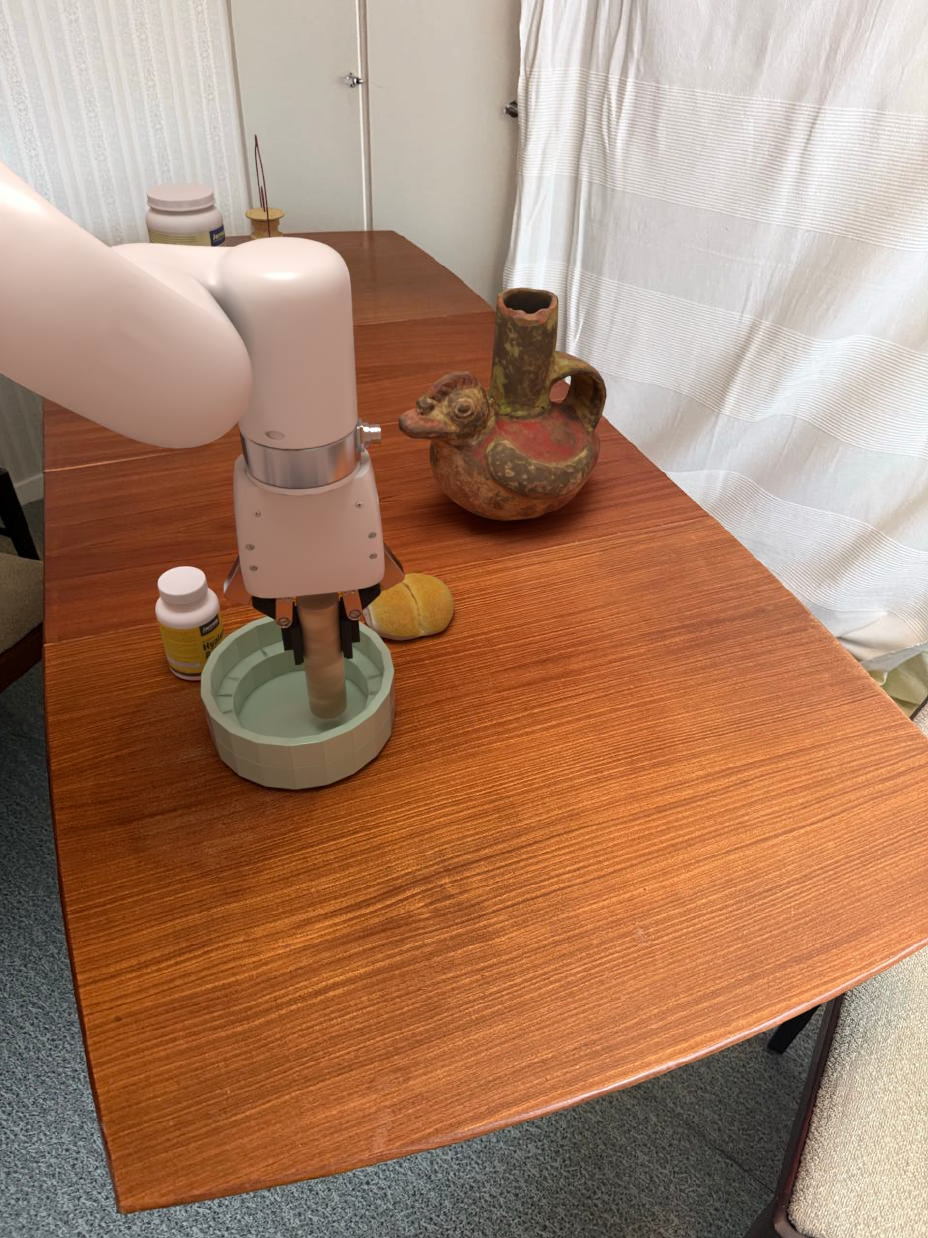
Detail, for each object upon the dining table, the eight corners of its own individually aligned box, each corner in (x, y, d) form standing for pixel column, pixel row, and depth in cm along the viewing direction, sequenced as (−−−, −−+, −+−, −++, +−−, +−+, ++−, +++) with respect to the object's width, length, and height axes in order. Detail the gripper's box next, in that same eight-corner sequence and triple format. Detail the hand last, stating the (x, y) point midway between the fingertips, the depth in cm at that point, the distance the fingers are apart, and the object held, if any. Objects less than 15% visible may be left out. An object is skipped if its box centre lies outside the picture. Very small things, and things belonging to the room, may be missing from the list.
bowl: (212, 807, 65) (198, 758, 61) (213, 669, 77) (202, 620, 73) (407, 777, 68) (407, 729, 64) (381, 649, 80) (379, 601, 76)
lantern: (320, 370, 124) (302, 144, 104) (253, 376, 122) (221, 146, 102) (308, 338, 133) (290, 123, 113) (246, 342, 131) (215, 124, 111)
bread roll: (465, 631, 82) (466, 600, 79) (378, 651, 79) (377, 620, 77) (436, 581, 88) (436, 550, 85) (354, 599, 85) (352, 568, 82)
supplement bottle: (217, 686, 75) (198, 604, 69) (160, 678, 76) (136, 595, 69) (238, 646, 79) (222, 564, 73) (184, 638, 80) (163, 557, 73)
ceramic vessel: (369, 502, 98) (360, 288, 82) (548, 451, 109) (572, 252, 92) (440, 582, 87) (446, 354, 71) (631, 517, 98) (675, 305, 81)
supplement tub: (235, 308, 141) (219, 200, 129) (160, 312, 138) (137, 202, 127) (233, 283, 150) (218, 179, 138) (162, 286, 147) (141, 181, 136)
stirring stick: (310, 721, 69) (297, 613, 61) (308, 694, 71) (294, 586, 63) (349, 716, 70) (340, 608, 62) (345, 689, 72) (336, 581, 64)
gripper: (416, 411, 58) (416, 608, 71) (173, 427, 55) (217, 630, 68) (436, 466, 53) (432, 670, 65) (167, 487, 50) (216, 697, 62)
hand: (322, 648), depth 66 cm, fingers closed on stirring stick, 3 cm apart
